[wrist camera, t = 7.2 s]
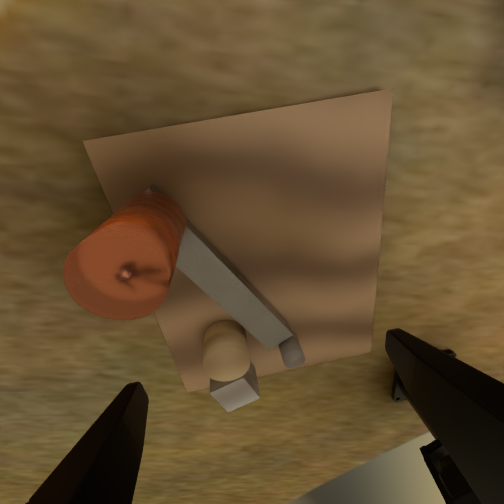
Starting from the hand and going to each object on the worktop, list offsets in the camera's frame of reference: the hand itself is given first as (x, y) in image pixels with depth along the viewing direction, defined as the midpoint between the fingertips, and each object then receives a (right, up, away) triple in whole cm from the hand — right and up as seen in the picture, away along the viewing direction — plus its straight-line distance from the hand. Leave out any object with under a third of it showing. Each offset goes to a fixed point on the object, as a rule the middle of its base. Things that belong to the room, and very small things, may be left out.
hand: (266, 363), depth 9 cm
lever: (-3, +2, +9) cm, 10 cm away
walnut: (-3, -3, +12) cm, 13 cm away
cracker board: (0, +3, +11) cm, 12 cm away
